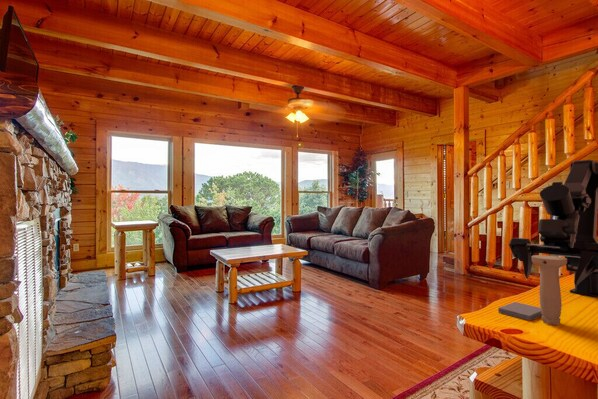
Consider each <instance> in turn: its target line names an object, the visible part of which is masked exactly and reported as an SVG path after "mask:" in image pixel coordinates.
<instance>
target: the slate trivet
mask: <svg viewBox="0 0 598 399" xmlns="http://www.w3.org/2000/svg"><path fill="white" fill-rule="evenodd" d="M497 311H498V313H499V314H502V315H506V316H510V317H514V318H518V319H521V320H525V321H527V322H528V321H529V322H530V321H532V320H535V319H537V318H540V317H542V316H543V315H542V313H541V309H540V306H539V307H538V306H534V305H530V304H525V303H521V302H517V301H514V302H510V303H508V304H506V305H502V306H499V307H498V310H497Z"/></svg>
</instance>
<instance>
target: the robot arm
mask: <svg viewBox="0 0 598 399" xmlns="http://www.w3.org/2000/svg"><path fill="white" fill-rule="evenodd" d="M539 197H540V199H541V202H542V204H543V207H544V210H545V213H546V214H547V215H550V217H549V219H548V218H540V219H539V220H538V227H537V228H538V229H537V233H538V234H540V237H539V239H540V242H541V243H542V244H537V243H536V244H535V243H532V242H531V240H530V238H522V237H512V238H511V239H510V240H509V244H508V246H509V248H510V251H511V253H512V256H513V257H514V258H515V259H518V260H519V261H520V262H522V266H523V272H524V277H525V279H529V277H530V276H531V272H532V268H533V264H534V263H533V262H532V256H534V254H543V255H544V254H545V255H550V256H556V257H564V258H567V264H566V265H565V268H566V271H567V272H573V273H574V274H573V277H574V279H573V283H574V288H571V289H569V292H570V293H573V294H575V293H576V294H580V295H585V296H591V297H595V298H596V297H597V298H598V241H597V226H598V225H597V224H598V162H597V161H595V160H594V159H582V160H574V161H571V162H570V166H569V172H568V175H567V176H566V179H565V180H564V183H563V181H556V182H555V181H553V182H552V184H551V185H549V186H545V187H544V188H543V189H542V190H540V192H539Z"/></svg>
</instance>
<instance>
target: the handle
mask: <svg viewBox="0 0 598 399" xmlns="http://www.w3.org/2000/svg"><path fill="white" fill-rule="evenodd" d="M532 262H533V264H535V265H537V266H538V267H539V273H540V275H539V298H538V299H539V308H540V309H541V313H542V316H541V320H542V322H543V323H546V324H547V325H554V326H558V325H559V324H561V314H562V293H561V285H560V276H559V275H560V274H559V273H560V272H559V270H560V268H561V267H566V264H567V258H565V257H564V256H556V255H544V254H543V255H541V254H538V255H537V254H535V255H533V256H532Z"/></svg>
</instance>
